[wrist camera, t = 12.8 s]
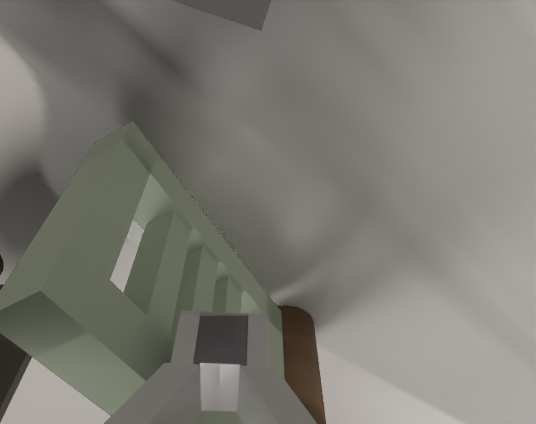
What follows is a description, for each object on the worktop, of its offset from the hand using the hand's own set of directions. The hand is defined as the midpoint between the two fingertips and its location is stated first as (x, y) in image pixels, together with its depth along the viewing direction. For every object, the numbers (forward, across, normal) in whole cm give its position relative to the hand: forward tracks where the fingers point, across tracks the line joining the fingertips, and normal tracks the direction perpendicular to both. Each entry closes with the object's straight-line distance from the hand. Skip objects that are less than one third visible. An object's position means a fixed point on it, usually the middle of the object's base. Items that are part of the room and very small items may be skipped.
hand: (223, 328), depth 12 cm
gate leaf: (+6, +1, +2) cm, 7 cm away
